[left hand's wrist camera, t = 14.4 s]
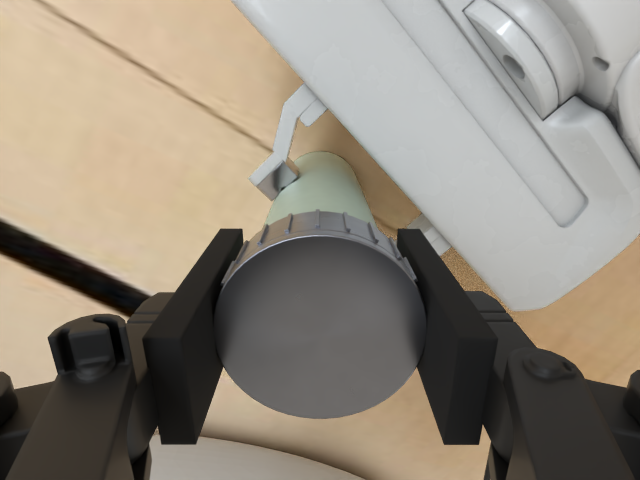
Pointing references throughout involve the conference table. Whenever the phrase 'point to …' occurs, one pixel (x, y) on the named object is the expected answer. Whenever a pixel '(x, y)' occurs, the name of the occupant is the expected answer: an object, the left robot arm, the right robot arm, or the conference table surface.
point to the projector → (234, 463)
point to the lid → (320, 316)
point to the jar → (322, 189)
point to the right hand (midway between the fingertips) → (307, 233)
